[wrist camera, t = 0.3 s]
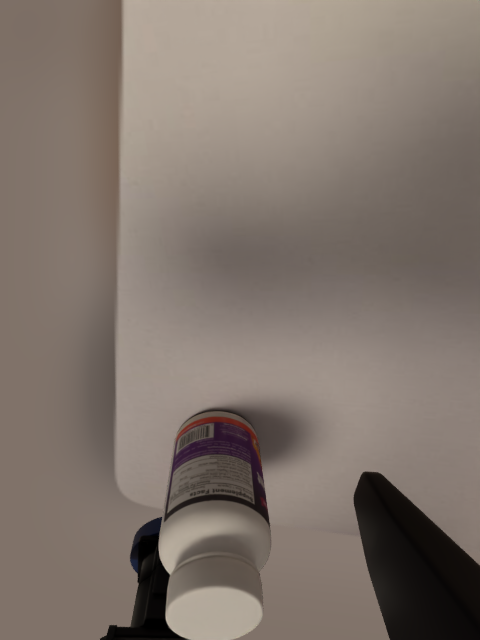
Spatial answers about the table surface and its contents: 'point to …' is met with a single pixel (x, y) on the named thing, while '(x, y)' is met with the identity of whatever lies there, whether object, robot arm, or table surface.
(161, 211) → the table surface
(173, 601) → the pill bottle
